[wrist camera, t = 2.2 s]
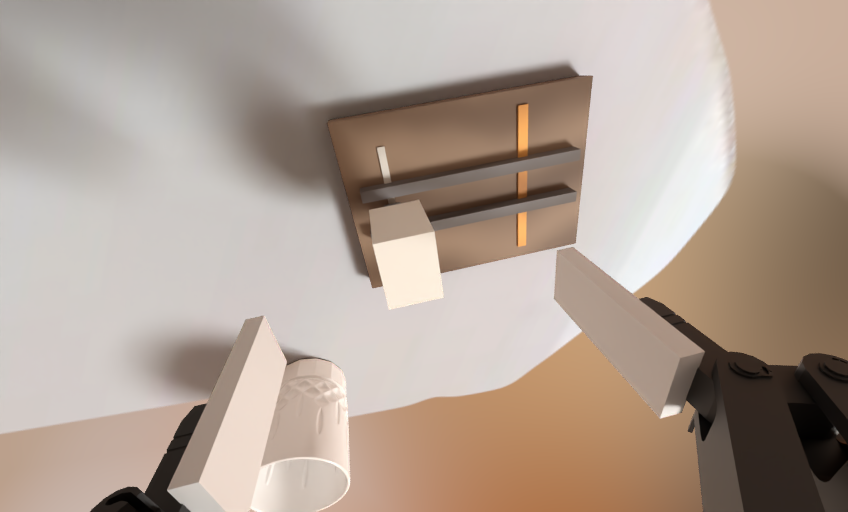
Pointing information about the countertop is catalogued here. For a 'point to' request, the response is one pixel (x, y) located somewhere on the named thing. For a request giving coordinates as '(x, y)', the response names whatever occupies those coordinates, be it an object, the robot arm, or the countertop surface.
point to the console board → (473, 169)
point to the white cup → (306, 442)
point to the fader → (406, 254)
